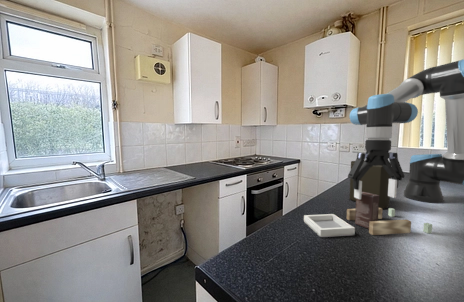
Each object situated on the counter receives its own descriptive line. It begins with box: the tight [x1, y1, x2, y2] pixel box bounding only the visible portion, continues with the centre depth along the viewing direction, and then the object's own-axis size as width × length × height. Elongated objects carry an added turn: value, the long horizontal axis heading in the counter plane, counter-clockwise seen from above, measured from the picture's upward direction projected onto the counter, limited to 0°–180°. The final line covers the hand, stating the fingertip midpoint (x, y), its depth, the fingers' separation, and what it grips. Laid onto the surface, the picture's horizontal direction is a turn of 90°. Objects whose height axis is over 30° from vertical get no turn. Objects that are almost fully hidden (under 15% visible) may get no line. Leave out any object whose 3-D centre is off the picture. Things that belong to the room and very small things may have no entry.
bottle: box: [348, 159, 392, 210], centre depth 98 cm, size 8×16×25 cm, turn 28°
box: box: [354, 192, 379, 230], centre depth 74 cm, size 6×4×12 cm
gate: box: [387, 207, 433, 234], centre depth 76 cm, size 2×16×3 cm, turn 6°
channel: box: [346, 208, 412, 236], centre depth 75 cm, size 14×13×4 cm
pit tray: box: [303, 213, 356, 238], centre depth 73 cm, size 12×12×2 cm
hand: (374, 197), depth 74 cm, fingers open, 13 cm apart
